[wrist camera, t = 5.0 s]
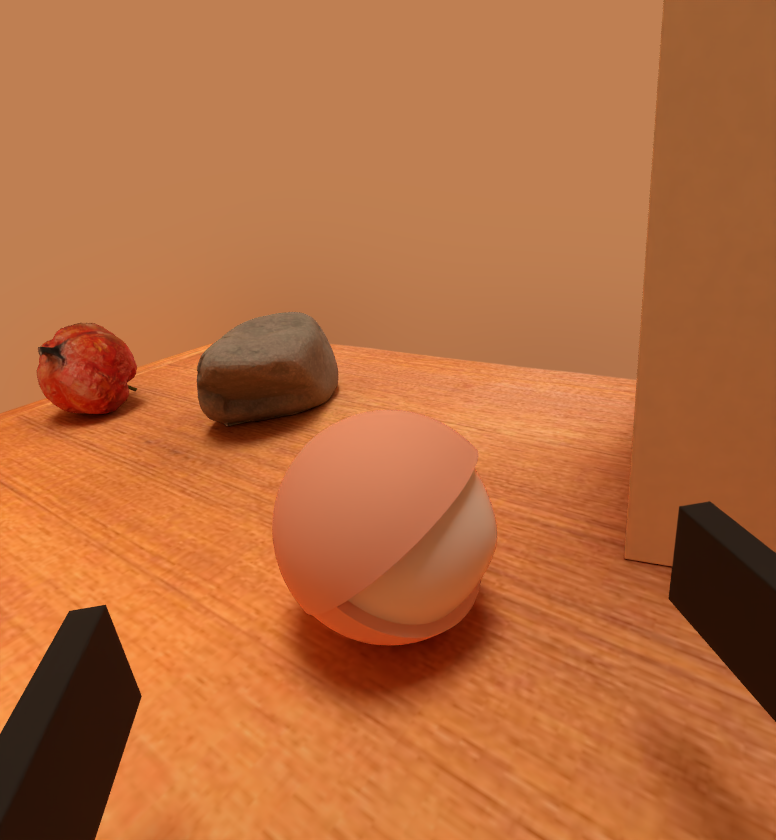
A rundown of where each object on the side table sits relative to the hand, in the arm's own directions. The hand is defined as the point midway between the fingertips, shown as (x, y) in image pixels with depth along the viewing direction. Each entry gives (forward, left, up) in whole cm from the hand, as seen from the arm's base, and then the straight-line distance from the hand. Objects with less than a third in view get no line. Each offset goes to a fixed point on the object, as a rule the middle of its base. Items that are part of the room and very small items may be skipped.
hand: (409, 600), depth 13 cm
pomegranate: (+36, -19, -6) cm, 42 cm away
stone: (+20, -21, -6) cm, 30 cm away
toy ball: (+3, -5, -6) cm, 9 cm away
